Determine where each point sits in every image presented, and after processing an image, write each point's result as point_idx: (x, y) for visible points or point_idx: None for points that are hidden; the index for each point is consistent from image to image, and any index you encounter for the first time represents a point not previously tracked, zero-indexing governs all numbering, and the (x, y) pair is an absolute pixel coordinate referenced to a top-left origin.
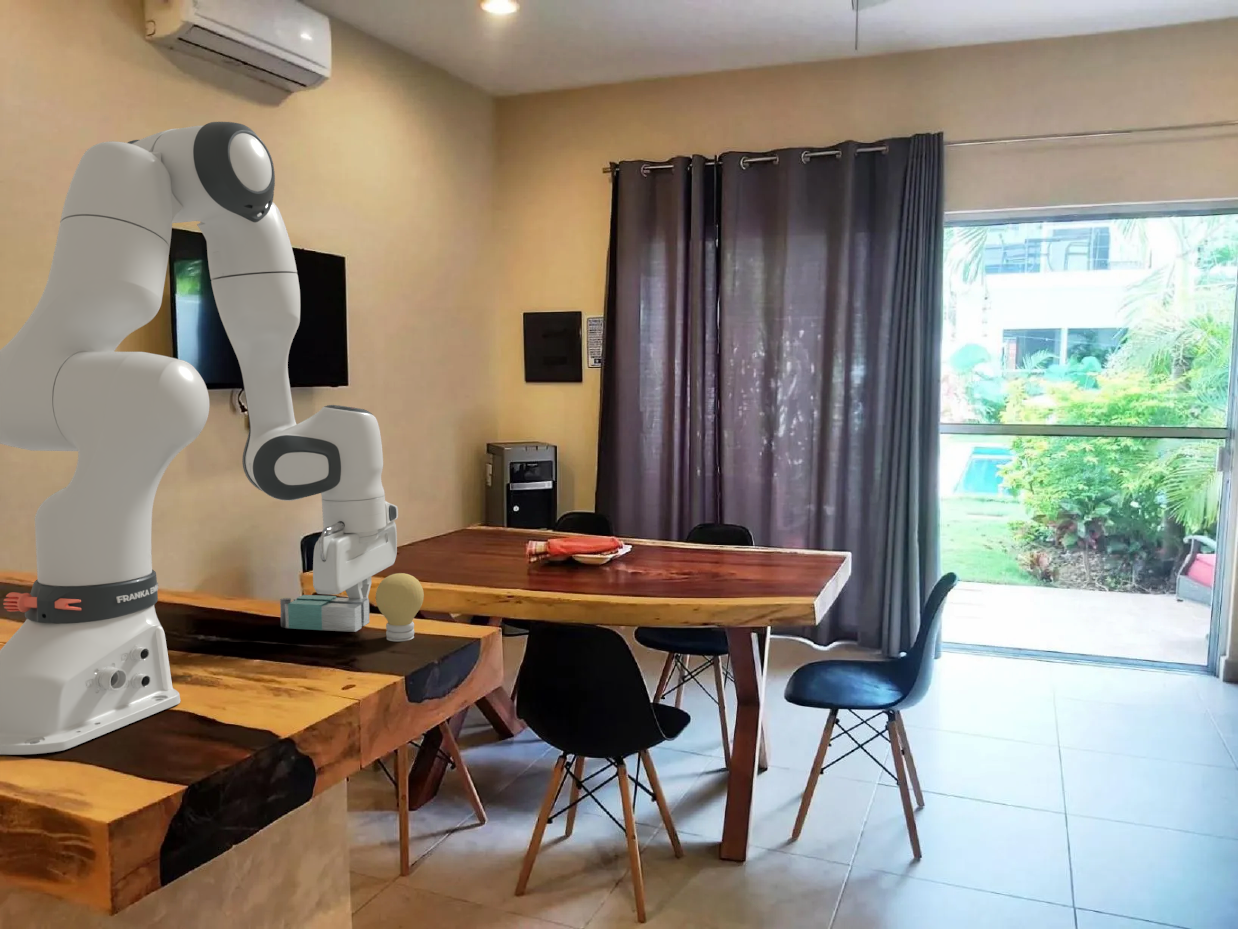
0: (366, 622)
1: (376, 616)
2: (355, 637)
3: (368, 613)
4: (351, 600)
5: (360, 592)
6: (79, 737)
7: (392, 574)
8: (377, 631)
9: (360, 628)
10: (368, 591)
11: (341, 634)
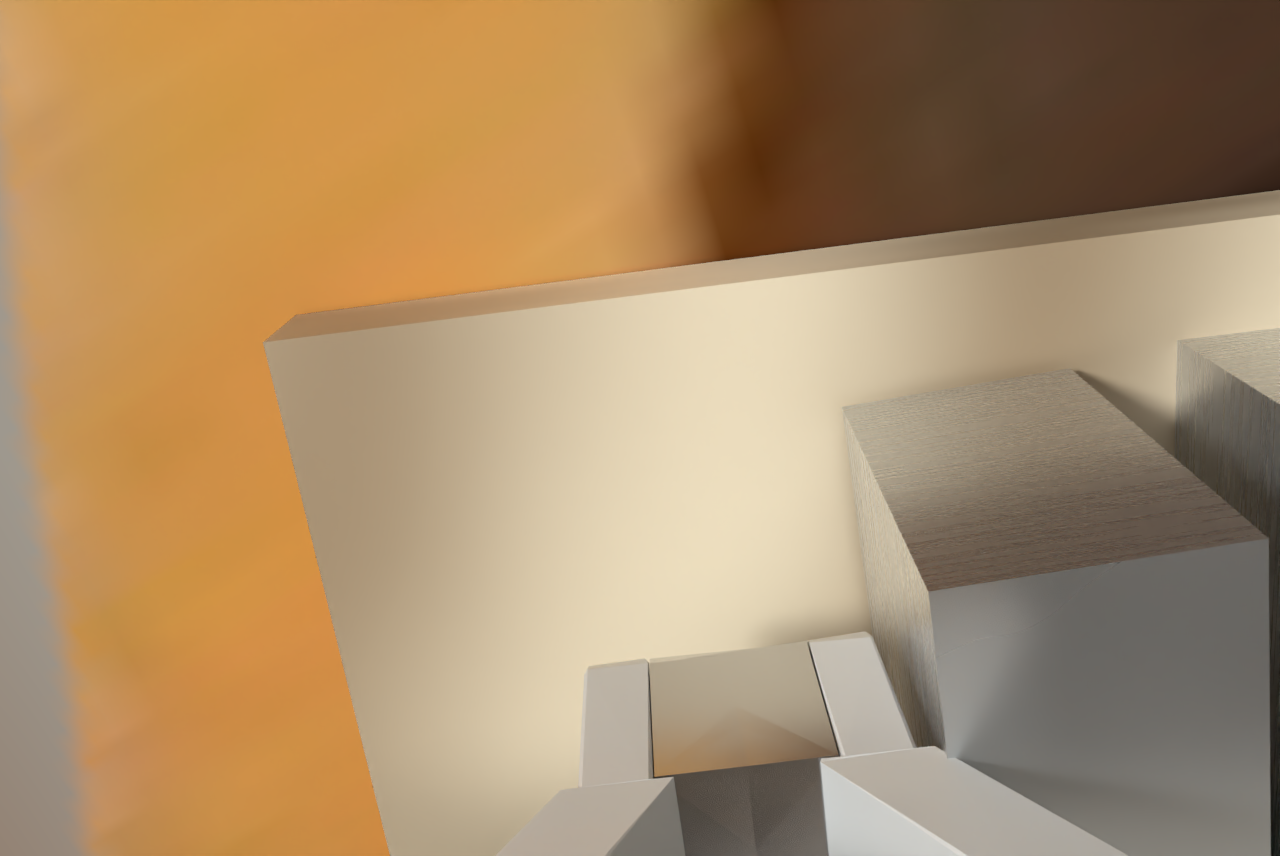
0: (965, 397)
1: (140, 658)
2: None
3: (897, 460)
4: (1171, 837)
5: (1037, 845)
6: None
7: None
8: (847, 223)
9: (1230, 337)
10: (564, 839)
11: None
